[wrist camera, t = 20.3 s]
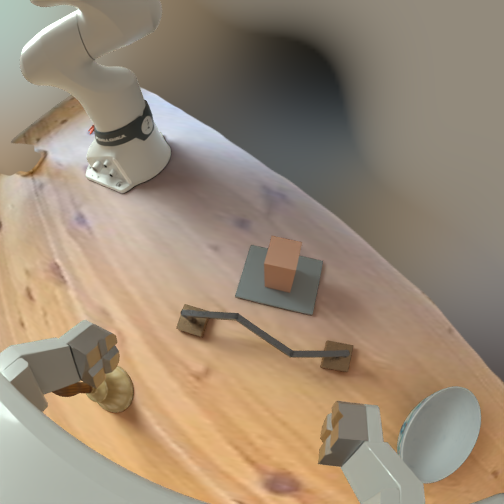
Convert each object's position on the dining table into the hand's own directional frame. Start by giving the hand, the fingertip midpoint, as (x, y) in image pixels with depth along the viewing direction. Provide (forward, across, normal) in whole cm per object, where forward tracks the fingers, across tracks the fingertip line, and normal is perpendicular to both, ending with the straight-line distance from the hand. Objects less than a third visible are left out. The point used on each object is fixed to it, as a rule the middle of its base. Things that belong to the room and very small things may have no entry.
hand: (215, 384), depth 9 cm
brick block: (+33, 0, +10) cm, 35 cm away
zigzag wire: (+26, 0, +18) cm, 32 cm away
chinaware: (+19, -29, +26) cm, 43 cm away
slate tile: (+33, 0, +11) cm, 35 cm away
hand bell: (+16, +21, +29) cm, 39 cm away
